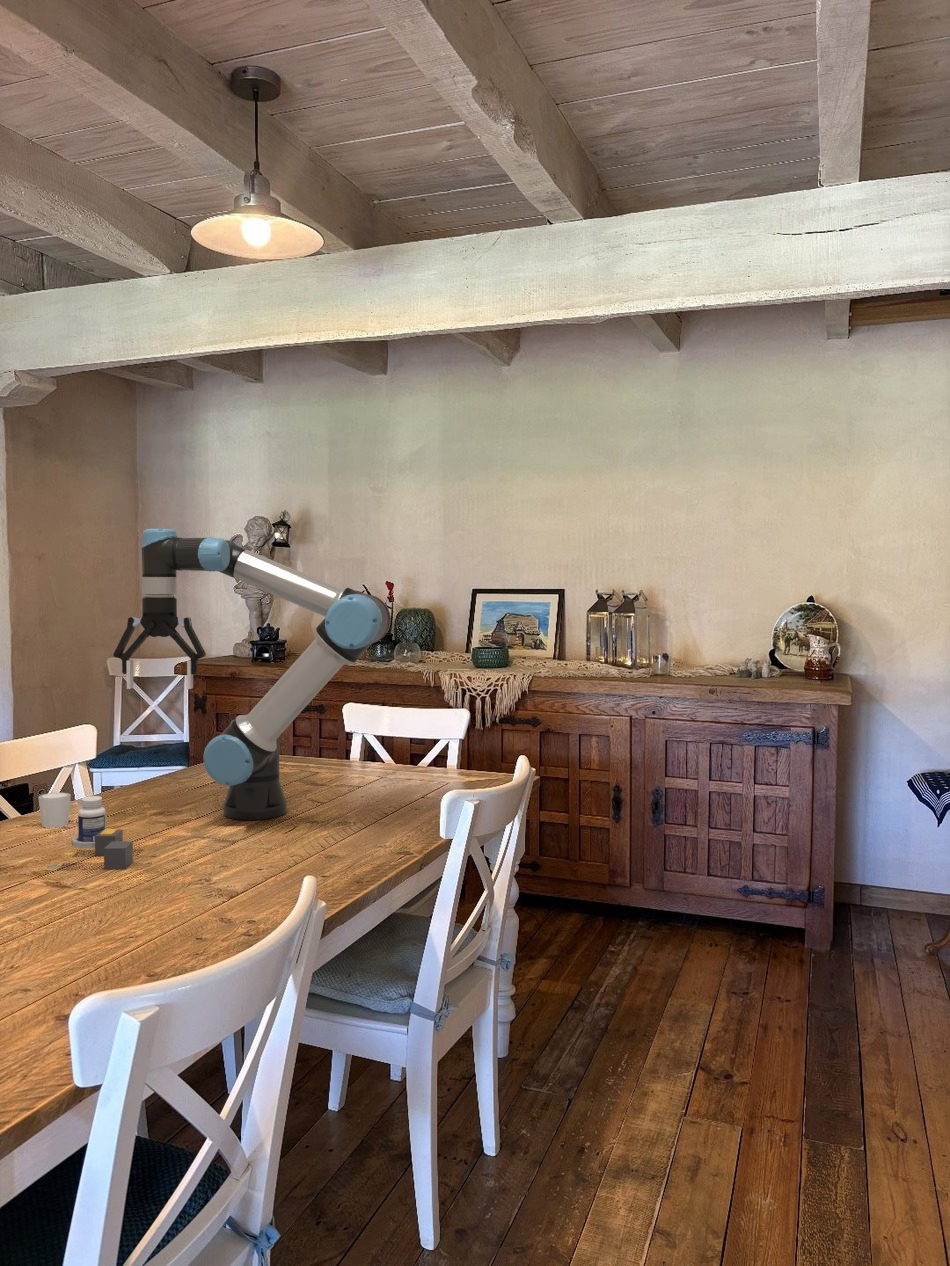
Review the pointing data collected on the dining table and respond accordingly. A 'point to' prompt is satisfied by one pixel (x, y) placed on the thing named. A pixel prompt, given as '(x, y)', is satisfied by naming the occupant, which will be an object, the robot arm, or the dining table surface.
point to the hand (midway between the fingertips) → (160, 688)
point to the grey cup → (54, 809)
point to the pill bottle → (91, 819)
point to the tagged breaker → (106, 839)
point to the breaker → (118, 855)
